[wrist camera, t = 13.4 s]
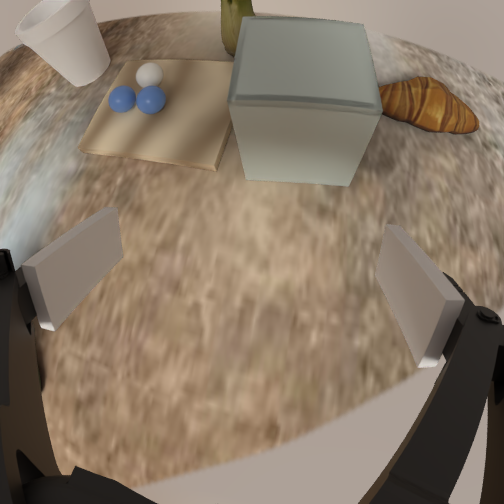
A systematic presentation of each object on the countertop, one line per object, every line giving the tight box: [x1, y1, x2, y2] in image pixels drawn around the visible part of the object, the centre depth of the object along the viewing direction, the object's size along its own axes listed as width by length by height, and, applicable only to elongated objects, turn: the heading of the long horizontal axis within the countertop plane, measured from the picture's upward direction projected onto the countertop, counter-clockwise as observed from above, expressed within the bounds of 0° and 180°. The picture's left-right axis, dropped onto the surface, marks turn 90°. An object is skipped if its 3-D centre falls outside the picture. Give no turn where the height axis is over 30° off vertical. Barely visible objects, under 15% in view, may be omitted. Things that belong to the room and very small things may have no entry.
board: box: [78, 59, 234, 172], centre depth 29 cm, size 16×13×1 cm
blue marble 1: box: [108, 85, 136, 113], centre depth 28 cm, size 3×3×3 cm
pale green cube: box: [227, 16, 383, 187], centre depth 22 cm, size 9×9×11 cm
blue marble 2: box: [136, 85, 166, 114], centre depth 27 cm, size 3×3×3 cm
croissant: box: [379, 77, 479, 134], centre depth 25 cm, size 14×7×5 cm, turn 83°
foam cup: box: [15, 0, 111, 87], centre depth 27 cm, size 10×9×13 cm
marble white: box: [136, 62, 164, 88], centre depth 28 cm, size 3×3×3 cm
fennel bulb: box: [221, 0, 256, 57], centre depth 25 cm, size 6×5×12 cm
